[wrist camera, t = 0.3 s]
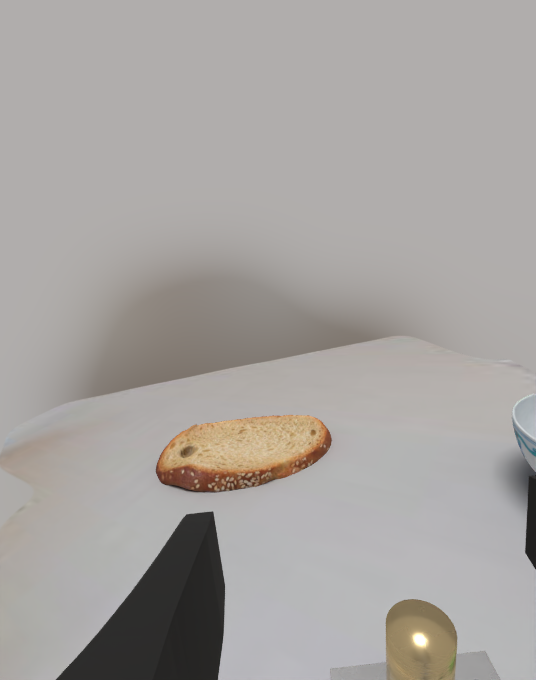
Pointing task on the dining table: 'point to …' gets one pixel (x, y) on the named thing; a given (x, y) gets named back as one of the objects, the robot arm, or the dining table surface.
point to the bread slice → (242, 452)
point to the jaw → (421, 649)
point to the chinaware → (526, 427)
